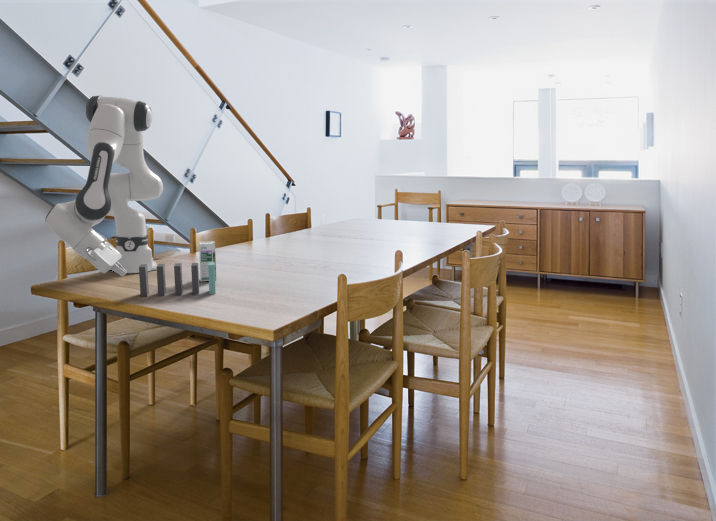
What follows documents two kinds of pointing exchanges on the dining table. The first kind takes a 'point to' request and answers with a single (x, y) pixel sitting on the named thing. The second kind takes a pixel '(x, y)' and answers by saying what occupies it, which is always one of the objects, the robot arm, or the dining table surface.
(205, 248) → the syrup box
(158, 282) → the domino
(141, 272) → the domino
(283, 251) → the dining table surface
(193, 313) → the dining table surface
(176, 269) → the domino
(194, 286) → the domino
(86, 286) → the dining table surface
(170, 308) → the dining table surface
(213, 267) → the domino
